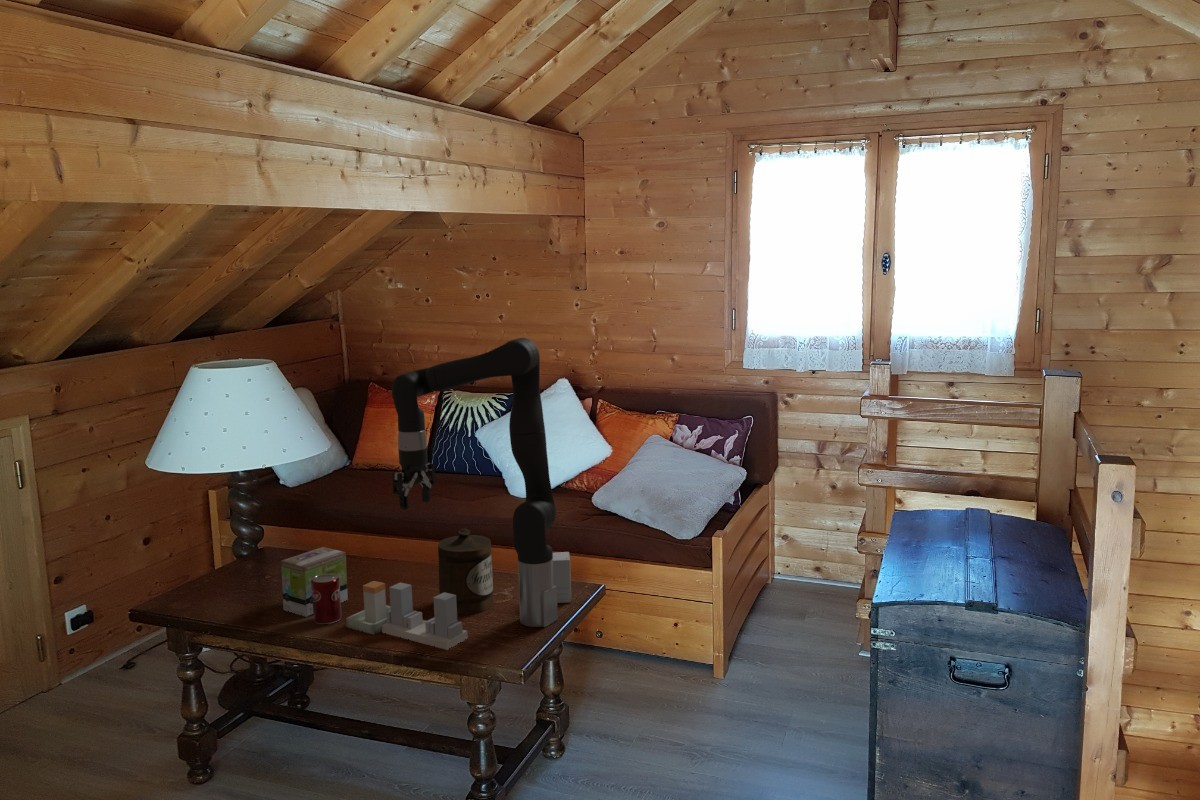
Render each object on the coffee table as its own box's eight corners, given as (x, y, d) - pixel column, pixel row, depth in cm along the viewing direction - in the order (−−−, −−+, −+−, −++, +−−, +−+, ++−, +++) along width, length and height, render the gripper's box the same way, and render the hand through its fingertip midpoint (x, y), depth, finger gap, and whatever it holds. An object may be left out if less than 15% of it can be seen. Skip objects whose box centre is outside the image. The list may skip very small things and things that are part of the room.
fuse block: (467, 638, 238) (465, 593, 236) (447, 650, 231) (445, 603, 229) (403, 622, 249) (401, 579, 248) (382, 632, 243) (379, 588, 241)
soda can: (313, 627, 247) (310, 583, 245) (314, 616, 254) (311, 574, 252) (341, 623, 249) (339, 580, 247) (341, 613, 256) (339, 571, 254)
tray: (406, 618, 252) (405, 609, 251) (373, 634, 242) (373, 625, 241) (378, 611, 257) (378, 603, 256) (346, 627, 247) (345, 618, 246)
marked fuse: (387, 618, 250) (385, 583, 248) (376, 624, 246) (374, 588, 245) (375, 616, 252) (373, 580, 250) (364, 621, 248) (362, 585, 247)
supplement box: (571, 593, 268) (570, 551, 266) (571, 603, 261) (570, 559, 259) (545, 594, 268) (544, 552, 266) (544, 604, 260) (543, 560, 258)
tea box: (307, 618, 253) (303, 566, 251) (283, 611, 259) (279, 560, 256) (349, 600, 266) (346, 550, 264) (325, 594, 271) (322, 545, 269)
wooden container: (483, 616, 252) (480, 538, 249) (432, 613, 255) (428, 535, 252) (500, 596, 267) (497, 522, 263) (451, 593, 270) (447, 520, 266)
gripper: (404, 453, 241) (407, 513, 244) (441, 443, 253) (443, 500, 256) (383, 450, 245) (386, 510, 248) (420, 440, 257) (423, 497, 260)
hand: (415, 505), depth 252 cm, fingers open, 8 cm apart
